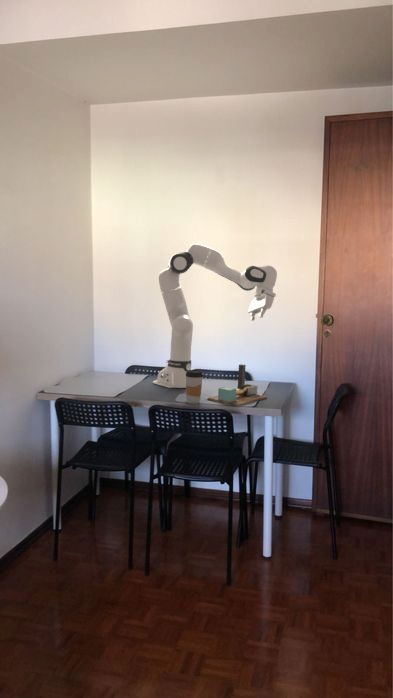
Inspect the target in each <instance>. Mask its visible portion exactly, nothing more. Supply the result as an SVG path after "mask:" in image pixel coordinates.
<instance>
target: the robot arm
mask: <svg viewBox="0 0 393 698" xmlns="http://www.w3.org/2000/svg"><path fill="white" fill-rule="evenodd" d="M193 265H197V266H200V267H202V268H204V269H206V270H209V271H211V272H214V273H215V274H217V275H218V276H221V277H222V278H225V279H227V280H228V281H231V282H233V283H234V284H236V286H238V287H239V288H240V289H241V290H243V291H247V292H248V291H249V292H250V291H251V290H254V289H255V288H256V289H255V292H254V299H252V300H251V302H250V305H249V307H248V310H247V313H248V314H250V321H252V322H254V321H255V320H256V317H255V316H256V314H258V318H260V319H263V317H264V315H265V313H266V311H267V310H270V309H271V308H272V306H273V304H274V300H275V297H276V295H277V294H276V293H275V292H274V287H275V285H276V283H277V277H278V273H277V269H276V268H275V267H273V266H272V265H264V266H256V265H249V266H248V267H246V269H245V270H244V271H243V272H242V271H238V270H236V269H235V268H232V267H231V266H229V265H227V264H226V262H225V258H224V256H223V254H222V253H221V252H220V251H218V250H217V249H214V248H212V247H209V246H207V245H204V244H201V243H200V244H199V243H195V242H194V243H191V245H189V246H188V249H187V250H186V251H184V252H181V251H180V252H175V253H174V254H172V255H171V256H170V258H169V262H168V267H167V268H165V269H163V270H162V271H160V273H159V274H158V284H159V289H160V292H161V296H162V299H163V302H164V305H165V309H166V312H167V316H168V320H169V323H170V326H171V337H170V338H171V339H170V340H171V341H170V358H169V359H167V360H166V363H167V366H165V367H164V368H162V370H160V371H159V372H158V374H157V379H155V380H153V381H152V384H155V385H158V386H161V387H166V388H168V389H169V388H170V389H171V388H173V389H174V388H175V389H176V388H179V389H183V388H185V389H186V373H187V371H188V370H192V360H191V356H192V341H193V330H194V324H193V321H192V318H191V317H190V314H189V311H188V305H187V303H186V298H185V295H184V292H183V288H182V285H181V281H180V276H181V274H184V273H187V271H189V270H190V268H191V266H193Z"/></svg>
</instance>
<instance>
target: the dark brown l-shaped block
mask: <svg viewBox="0 0 393 698" xmlns="http://www.w3.org/2000/svg"><path fill="white" fill-rule="evenodd" d="M237 374H238V375H237V377H238V378H237V386H238V389H237V388H235V389H236V396H237V395H241V394H245V393H246V392H247V388H248V387H245V388H244V386H245V384H246V382H245V381H246V364H241V363H240V364H238V373H237ZM249 387H251V386H249Z"/></svg>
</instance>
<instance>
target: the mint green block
mask: <svg viewBox="0 0 393 698" xmlns="http://www.w3.org/2000/svg"><path fill="white" fill-rule="evenodd" d="M236 389H237V388H233V387H228V386H222V387H219V388H218V394H217V396H218V400H223V401H228V402H232V401H235V400H236Z"/></svg>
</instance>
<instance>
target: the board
mask: <svg viewBox="0 0 393 698" xmlns="http://www.w3.org/2000/svg"><path fill="white" fill-rule="evenodd" d="M265 399H267V396H265V395H262V394H261V395H260V394H257V395H253V396H249V397H245V396H240V395H237V396H236V400H235V401H232V402H228V401H223V400H218V395H215V396H211V397H207V401H211V402H216V403H220V404H224V405H231V406H235V407H240V406H245V405H247V404H252V403H255V402H258V401H261V400H265Z"/></svg>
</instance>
